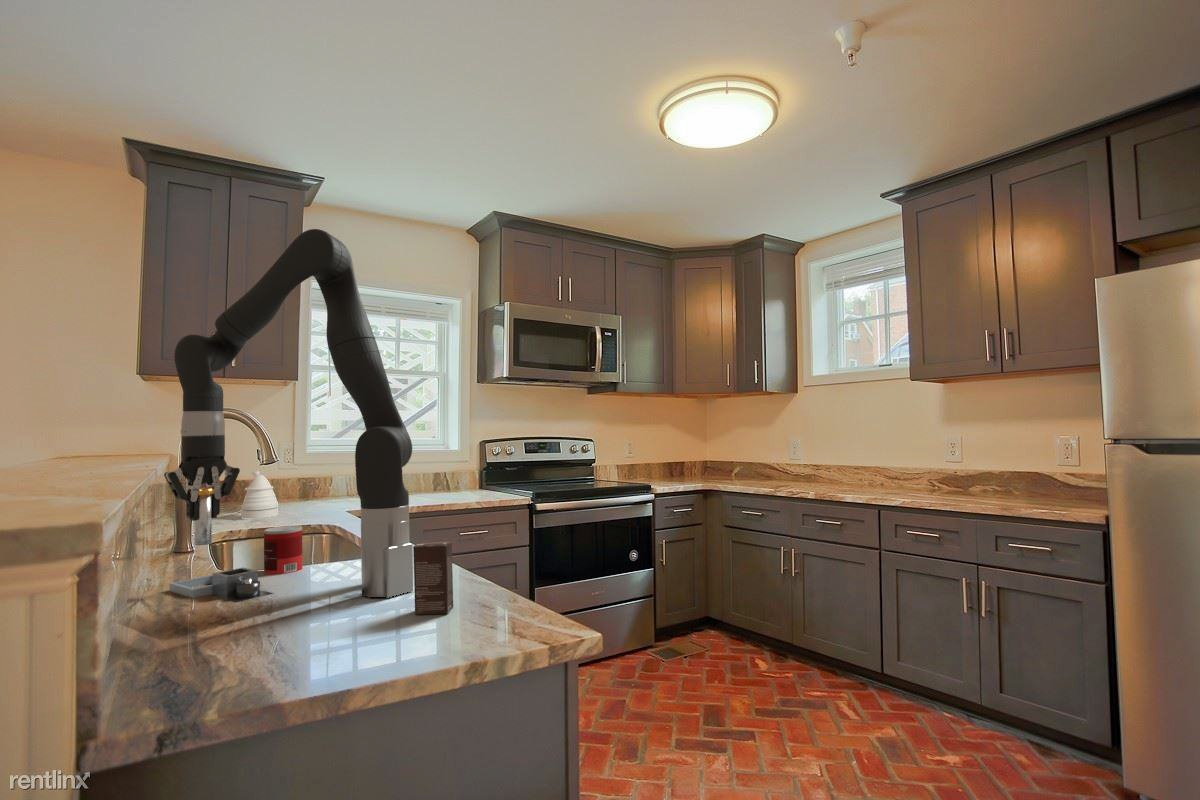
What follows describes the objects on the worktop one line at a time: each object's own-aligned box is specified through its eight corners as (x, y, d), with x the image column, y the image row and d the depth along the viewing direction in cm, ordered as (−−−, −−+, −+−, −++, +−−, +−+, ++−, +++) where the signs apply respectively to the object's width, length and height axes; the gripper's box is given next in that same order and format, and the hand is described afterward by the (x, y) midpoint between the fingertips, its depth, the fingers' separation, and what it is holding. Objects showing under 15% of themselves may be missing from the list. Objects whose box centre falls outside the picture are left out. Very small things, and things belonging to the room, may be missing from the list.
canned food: (308, 572, 146) (307, 524, 146) (292, 580, 138) (292, 530, 138) (275, 573, 145) (274, 526, 146) (257, 582, 137) (257, 531, 138)
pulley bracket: (273, 601, 121) (273, 572, 121) (236, 610, 116) (235, 580, 116) (245, 593, 127) (245, 566, 128) (208, 602, 122) (208, 573, 122)
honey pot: (233, 519, 242) (233, 473, 243) (260, 514, 254) (260, 470, 255) (260, 520, 238) (259, 472, 239) (286, 515, 251) (285, 470, 252)
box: (454, 607, 114) (452, 540, 114) (447, 614, 109) (446, 545, 110) (420, 608, 114) (419, 541, 114) (413, 615, 109) (412, 546, 110)
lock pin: (217, 543, 127) (217, 488, 127) (197, 546, 124) (197, 489, 124) (209, 541, 129) (209, 487, 130) (188, 544, 126) (188, 489, 126)
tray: (237, 595, 127) (237, 580, 127) (192, 605, 120) (192, 589, 120) (213, 588, 132) (213, 574, 132) (169, 598, 126) (169, 583, 126)
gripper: (172, 434, 120) (172, 525, 119) (248, 432, 131) (248, 515, 130) (156, 435, 124) (155, 522, 123) (230, 433, 135) (230, 513, 135)
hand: (203, 518), depth 127 cm, fingers closed on lock pin, 3 cm apart
